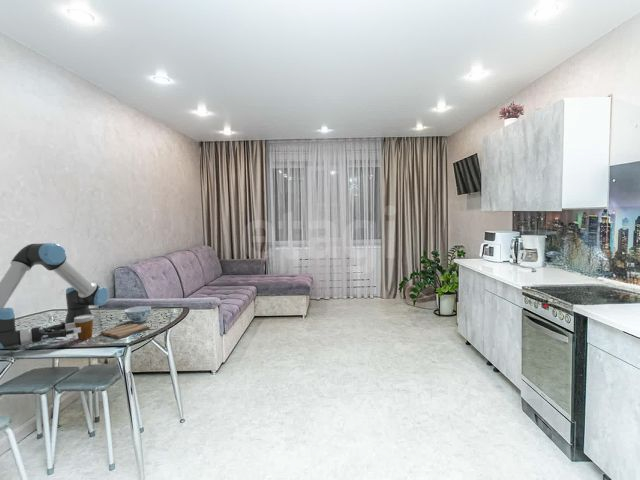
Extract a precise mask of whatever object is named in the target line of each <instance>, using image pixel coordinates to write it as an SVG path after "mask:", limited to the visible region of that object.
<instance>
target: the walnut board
mask: <svg viewBox="0 0 640 480" xmlns="http://www.w3.org/2000/svg"><path fill="white" fill-rule="evenodd" d="M149 330H150V326H147V325H142V324H138V323H134V322H130V323H127V324H123V325H119V326H115V327H112V328H109V329H106V330H102V331H100V334H101V335H103V336H107V337H112V338H114V339H119V338H120V339H123V338H127V337H129V336H132V335H135V334H138V333H141V332H146V331H149ZM122 337H123V338H122Z"/></svg>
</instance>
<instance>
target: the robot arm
mask: <svg viewBox="0 0 640 480" xmlns="http://www.w3.org/2000/svg"><path fill="white" fill-rule="evenodd" d="M36 265H40V266H42V267H44V268H45V269H46V270H47V271H48V272H49V271H52V272H54V273H55V274H57V275H58V276H59V277H60V278H61V279H62V280H64V281H65V282H66V283H67V284H68V285H70V287H67V288H66V289H65V301H66V309H67V313H66V317H65V320H64V321H65V322H62V323H60V324H55V325H53V326H49V327H43V328H42V329H41V326H35V327H32V328H24V329H18V330H17V329H16V320H15V318H16V317H15V311H14V308H12V307H5V306H6V305H7V304H8V301H9V300H10V298H11V297H12V295H13V293H14V292H15V291H16V289H17V288H18V286H19V284H20V282H21V281H22V279H23V278H24V276H25V275H26V273H27V272H29V271H31V269H32V268H33V267H34V266H36ZM109 297H110V295H109V290H108V289H107V287H105V286H100V285H98V283H96V282H94V281H90V280H89V279H87V277H86V276H85V275H83V274H82V273H81V272H80V271H79V270H78V269H77V268H76V267H75V266H73V265H72V264H71V263H70V262H69V261H68V258H67V254H66V250H65V249H64V247H63V246H62V245H60V244H58V243H53V242H46V243H31V244H27V245H26V246H24V247H22V248H21V249H20V250H19V251H18V252H17V253H16V254H15V255H14V257H13V258H12V260H10V267H8V270H7V271H6V272H5V274H4V275H3V277H2V279H1V280H0V350H1V349H8V348H12V347H17V346H22V345H24V346H27V345H28V344H31V343H34V344H35V343H40V342H42V339H44V340H46V339H53V338H66V337H67V336H69V335H75V334H77V333H81V327H78V328H76V326H75V322H74V318H75V317H77V316H82V315H93V313H92V311H91V309H90V306H93V307H95V306H96V307H99V306H104V305H105V304H107V301H108V300H109Z"/></svg>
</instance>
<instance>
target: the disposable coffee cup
mask: <svg viewBox="0 0 640 480" xmlns="http://www.w3.org/2000/svg"><path fill="white" fill-rule="evenodd" d="M94 318H95V317H94V315H93V314H92V315H82V316H77V317H75V318H74V322H75V326H76V327H75V328H78V327H81V333H76V334H77V338H78V340H80V341H85V340H89V339H91V338H93V327H94Z"/></svg>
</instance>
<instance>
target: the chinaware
mask: <svg viewBox="0 0 640 480" xmlns="http://www.w3.org/2000/svg"><path fill="white" fill-rule="evenodd" d="M151 311H152V307H151V306H148V305H141V306H140V305H139V306H134V307H129V308H126V309H124V314H125V316H126V317H127V318H128V319H129V320H130V321H132V323H133V324H138V323H142V322H145V321H146V319H147V318H148V316H149V315H150V313H151Z"/></svg>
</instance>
